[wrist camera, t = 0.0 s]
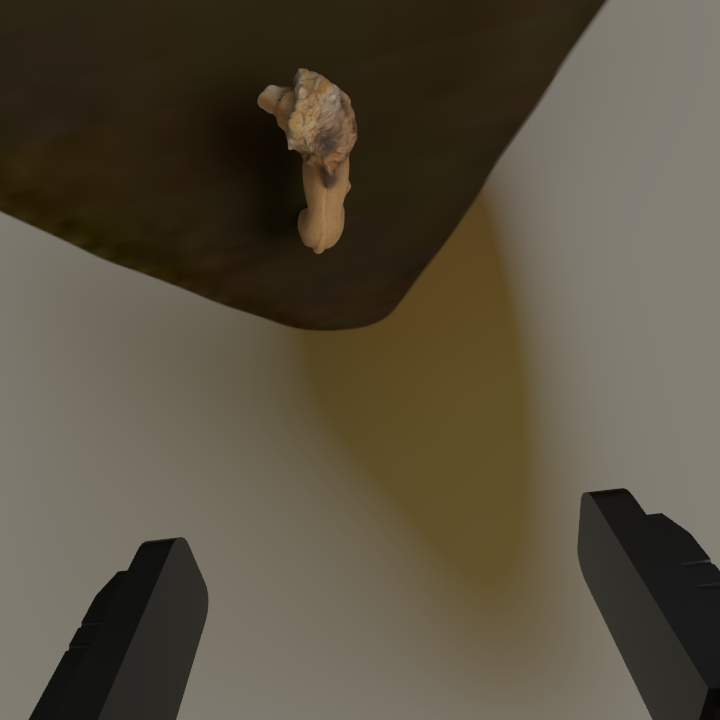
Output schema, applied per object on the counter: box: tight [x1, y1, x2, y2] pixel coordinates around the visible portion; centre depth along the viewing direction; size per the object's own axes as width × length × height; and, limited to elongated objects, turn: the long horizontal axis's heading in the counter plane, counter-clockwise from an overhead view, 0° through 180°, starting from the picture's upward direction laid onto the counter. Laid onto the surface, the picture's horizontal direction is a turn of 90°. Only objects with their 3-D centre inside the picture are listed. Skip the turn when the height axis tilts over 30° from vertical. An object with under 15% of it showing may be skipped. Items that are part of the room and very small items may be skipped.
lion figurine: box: [258, 69, 357, 254], centre depth 33 cm, size 15×5×9 cm, turn 5°
